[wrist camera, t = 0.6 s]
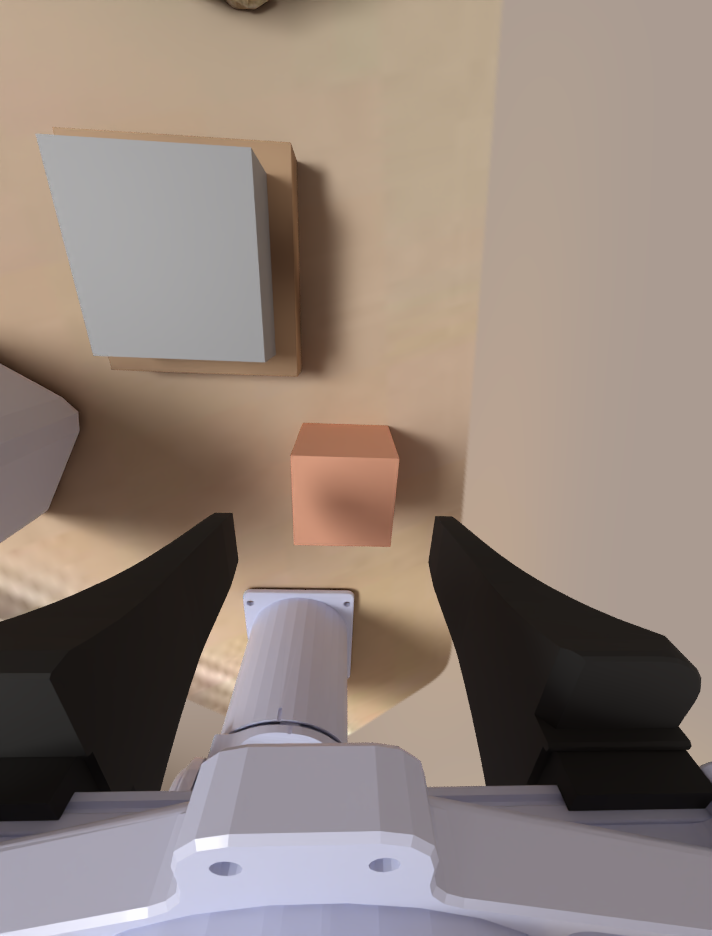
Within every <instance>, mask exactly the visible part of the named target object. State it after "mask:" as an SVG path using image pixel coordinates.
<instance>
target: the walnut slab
mask: <svg viewBox="0 0 712 936" xmlns="http://www.w3.org/2000/svg"><path fill="white" fill-rule="evenodd" d="M52 128H53V133H54V135H64V136H79V137H95V138H111V139H126V140H142V141H158V142H174V143H189V144H205V145H221V146H236V147H251V148H252V150H253V152H254V153H255V155H256V157H257V158H258V160H259V162H260V163H261V165H262V167H263V168H264V170H265V172H266V175H267V194H268V213H269V233H270V252H271V271H272V291H273V310H274V329H275V349H276V355H275V356H274V357H272V358H271V359H269V360H268V361H266V362H241V361H215V360H189V359H164V358H138V357H113V356H108V357H109V361H110V365H111V369H112V370H132V371H159V372H186V373H212V374H239V375H266V376H293V377H297V376H298V375H299V373H300V372H301V370H302V367H301V323H300V279H299V235H298V191H297V160H296V157H295V154H294V151H293V148H292V145H291V143H290V142H275V141H259V140H244V139H229V138H213V137H198V136H183V135H167V134H152V133H137V132H121V131H106V130H91V129H75V128H60V127H52Z"/></svg>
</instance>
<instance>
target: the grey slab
mask: <svg viewBox="0 0 712 936" xmlns="http://www.w3.org/2000/svg"><path fill="white" fill-rule="evenodd" d="M36 137H37V141H38V145H39V149H40V153H41V156H42V160H43V164H44V168H45V172H46V176H47V180H48V183H49V187H50V191H51V195H52V199H53V203H54V206H55V210H56V214H57V218H58V222H59V226H60V229H61V233H62V237H63V241H64V245H65V249H66V252H67V256H68V260H69V264H70V268H71V272H72V275H73V279H74V283H75V287H76V291H77V295H78V298H79V302H80V306H81V310H82V314H83V318H84V321H85V325H86V329H87V333H88V337H89V341H90V344H91V348H92V352H93V356H113V357H138V358H164V359H189V360H215V361H241V362H266V361H268V360H269V359H271V358H272V357H274V356H275V355H276V349H275V329H274V310H273V291H272V271H271V252H270V233H269V213H268V194H267V175H266V172H265V170H264V168H263V167H262V165H261V163H260V162H259V160H258V158H257V157H256V155H255V153H254V152H253V150H252V148H251V147H236V146H221V145H205V144H189V143H174V142H158V141H142V140H126V139H111V138H95V137H79V136H64V135H48V134H36Z"/></svg>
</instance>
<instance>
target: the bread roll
mask: <svg viewBox="0 0 712 936" xmlns="http://www.w3.org/2000/svg"><path fill="white" fill-rule="evenodd" d="M226 1H227V2H228V3H229V4H230V5H231V6H232V7H233V8H235V9H256V8H258V7H259V6H261V5H262V4H264V3H265V2H267V1H268V0H226Z"/></svg>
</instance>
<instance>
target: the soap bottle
mask: <svg viewBox="0 0 712 936" xmlns="http://www.w3.org/2000/svg"><path fill="white" fill-rule="evenodd" d="M79 431H80V428H79V412H78V411H77V410H76V409H75V408H74V407H72V406H71V405H70V404H69V403H68V402H67V401H66V400H65V399H63V398H62V397H61V396H59V395H57V394H55V393H53V392H52V391H50V390H48V389H46V388H44V387H42V386H41V385H39V384H37V383H35V382H33V381H31V380H30V379H28V378H26V377H24V376H22V375H20V374H19V373H17V372H15V371H13V370H11V369H9V368H8V367H6V366H4V365H2V364H0V543H1V542H3V541H4V540H5V539H7V538H8V537H10V536H11V535H13V534H14V533H16V532H17V531H19V530H20V529H22V528H23V527H24V526H26V525H27V524H29V523H30V522H32V521H33V520H35V519H36V518H38V517H39V516H40V515H42V514H43V513H45V512H46V511H47V510H48V509H49V506H50V504H51V501H52V499H53V496H54V494H55V491H56V489H57V486H58V484H59V481H60V479H61V476H62V474H63V471H64V469H65V466H66V464H67V461H68V459H69V456H70V454H71V451H72V449H73V446H74V444H75V441H76V439H77V436H78V434H79Z"/></svg>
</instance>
